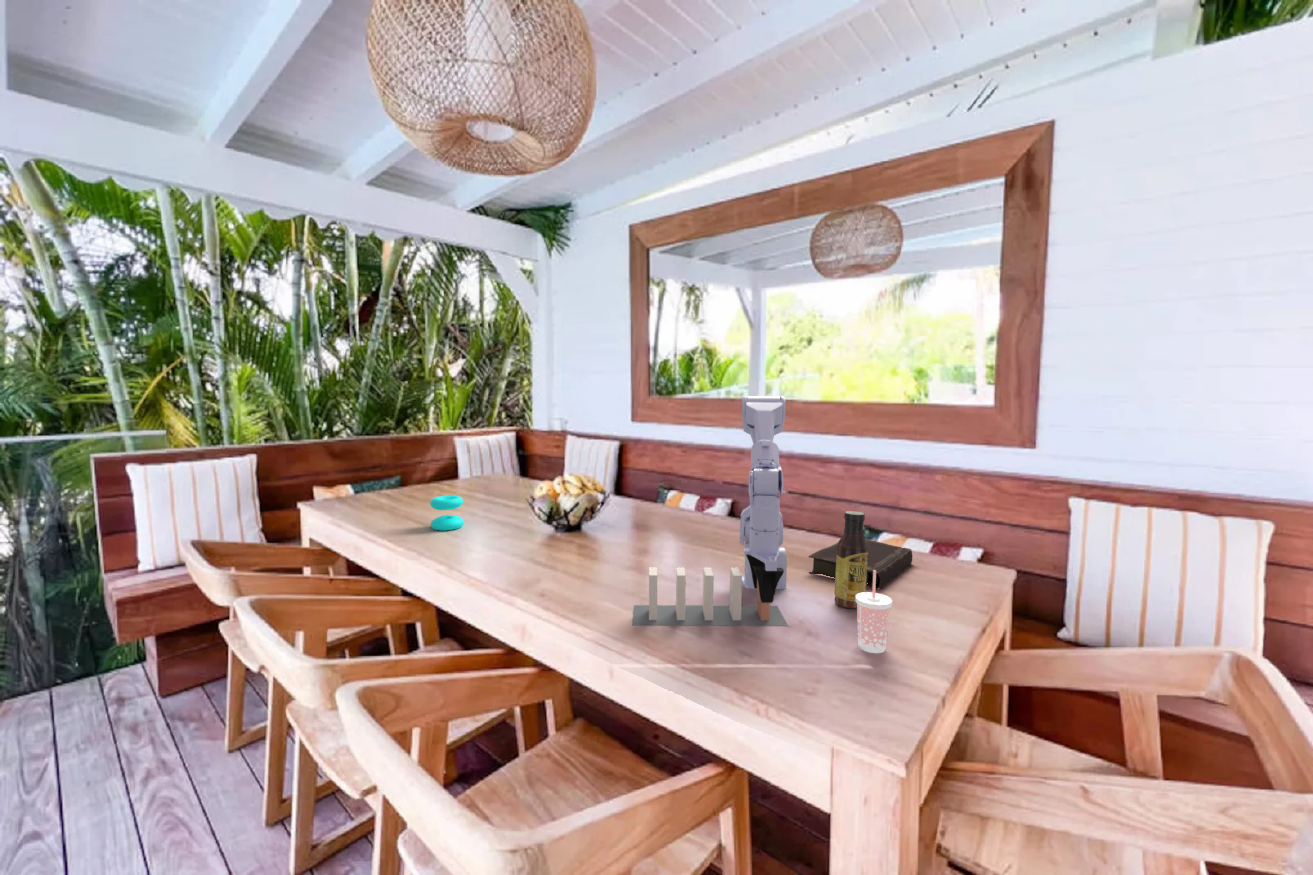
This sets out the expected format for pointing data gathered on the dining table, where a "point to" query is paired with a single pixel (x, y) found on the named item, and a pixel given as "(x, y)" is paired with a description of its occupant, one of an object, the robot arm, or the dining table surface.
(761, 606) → the terracotta domino
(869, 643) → the beverage cup
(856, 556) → the sauce bottle
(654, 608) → the domino
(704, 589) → the domino
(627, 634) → the dining table surface
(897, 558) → the diary
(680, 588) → the domino
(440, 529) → the donuts
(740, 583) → the domino
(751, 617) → the slate mat
